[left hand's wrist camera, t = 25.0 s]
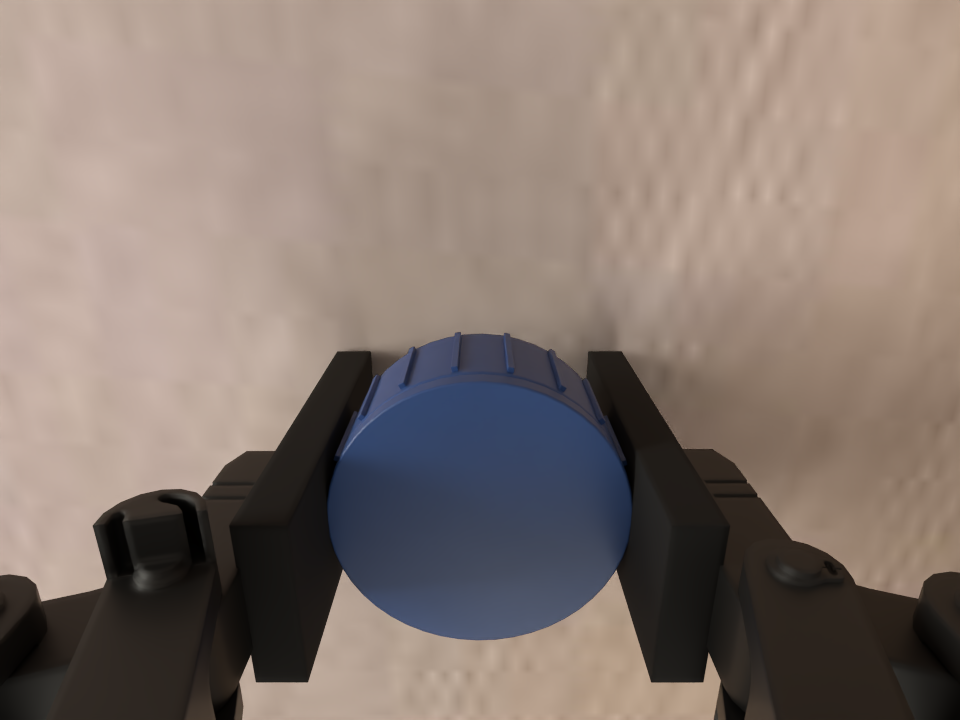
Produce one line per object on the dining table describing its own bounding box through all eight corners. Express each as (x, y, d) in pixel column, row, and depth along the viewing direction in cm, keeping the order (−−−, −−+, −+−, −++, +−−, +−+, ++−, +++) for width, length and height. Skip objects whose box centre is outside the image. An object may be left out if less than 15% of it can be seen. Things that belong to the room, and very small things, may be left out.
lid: (598, 558, 13) (622, 645, 11) (356, 555, 13) (331, 640, 11) (623, 332, 11) (657, 382, 9) (341, 327, 11) (308, 375, 9)
